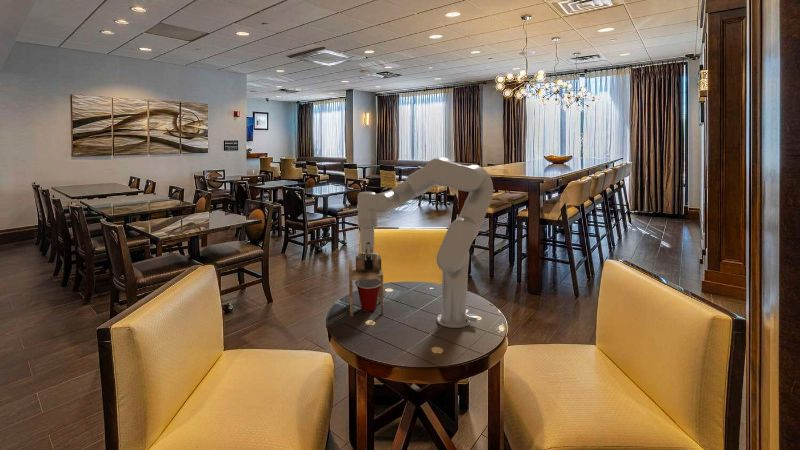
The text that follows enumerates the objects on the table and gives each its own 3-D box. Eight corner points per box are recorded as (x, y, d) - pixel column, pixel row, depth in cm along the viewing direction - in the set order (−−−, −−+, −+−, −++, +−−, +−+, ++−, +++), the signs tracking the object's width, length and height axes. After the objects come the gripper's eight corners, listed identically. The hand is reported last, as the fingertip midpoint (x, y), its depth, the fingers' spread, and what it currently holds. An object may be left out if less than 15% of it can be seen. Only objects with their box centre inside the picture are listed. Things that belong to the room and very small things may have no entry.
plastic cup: (356, 315, 169) (356, 286, 167) (354, 305, 180) (354, 277, 178) (383, 313, 171) (383, 284, 169) (380, 303, 182) (380, 276, 179)
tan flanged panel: (381, 302, 183) (380, 258, 179) (383, 314, 170) (383, 267, 166) (350, 304, 181) (348, 259, 177) (350, 316, 168) (348, 268, 165)
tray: (380, 265, 176) (380, 251, 174) (381, 270, 170) (381, 255, 169) (355, 266, 175) (355, 252, 173) (356, 271, 169) (355, 256, 168)
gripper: (357, 219, 177) (358, 261, 180) (358, 227, 160) (359, 273, 163) (375, 219, 177) (376, 260, 181) (378, 227, 161) (379, 273, 164)
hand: (368, 266), depth 172 cm, fingers closed on tray, 6 cm apart
